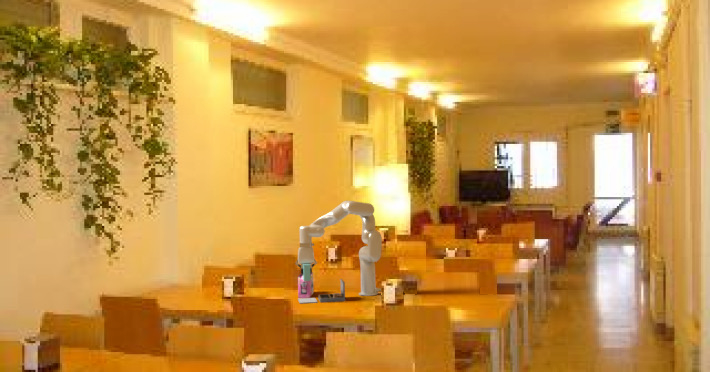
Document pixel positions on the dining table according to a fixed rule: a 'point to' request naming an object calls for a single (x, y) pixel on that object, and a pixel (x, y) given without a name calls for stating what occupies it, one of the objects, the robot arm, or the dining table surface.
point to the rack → (330, 296)
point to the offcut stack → (337, 295)
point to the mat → (307, 300)
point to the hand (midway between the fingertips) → (306, 274)
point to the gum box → (305, 287)
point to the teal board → (306, 272)
